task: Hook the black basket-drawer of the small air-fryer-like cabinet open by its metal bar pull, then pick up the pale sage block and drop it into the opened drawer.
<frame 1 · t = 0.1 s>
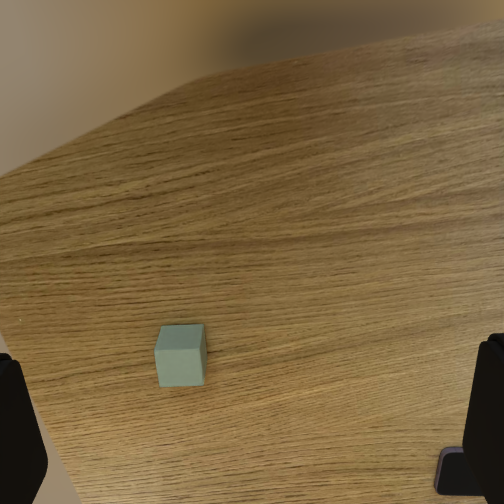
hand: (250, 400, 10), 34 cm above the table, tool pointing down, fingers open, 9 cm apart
smartphone: (498, 467, 58), on the table
block: (184, 342, 51), on the table
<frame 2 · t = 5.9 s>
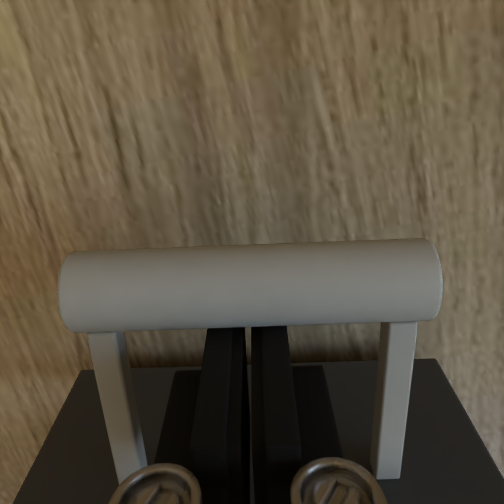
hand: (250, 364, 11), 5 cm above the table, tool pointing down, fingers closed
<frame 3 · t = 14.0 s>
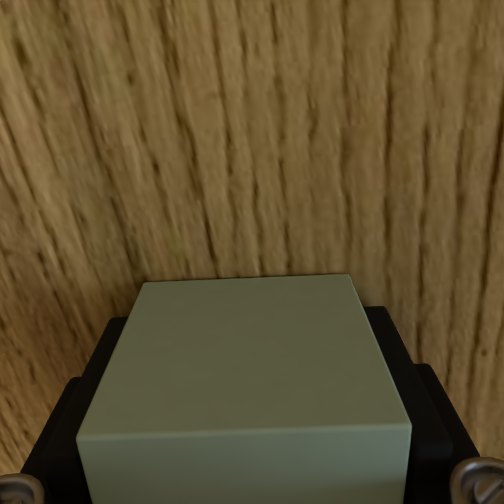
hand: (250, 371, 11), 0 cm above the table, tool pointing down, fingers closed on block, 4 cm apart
block: (250, 361, 11), on the table, touching gripper
when the fingers open (7 cm above the table, at t = 22.1 s): block stays where it is, resting on drawer.
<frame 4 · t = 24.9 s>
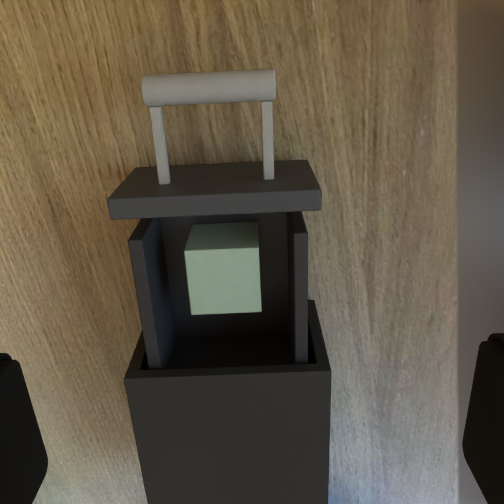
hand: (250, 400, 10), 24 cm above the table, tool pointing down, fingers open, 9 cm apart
drawer: (222, 236, 30), point 4 cm above the table, slide at 9.9 cm, touching block
cabinet: (237, 379, 40), on the table
block: (227, 252, 33), point 2 cm above the table, touching drawer
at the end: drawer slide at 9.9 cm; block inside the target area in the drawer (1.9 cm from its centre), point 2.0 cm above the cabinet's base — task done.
